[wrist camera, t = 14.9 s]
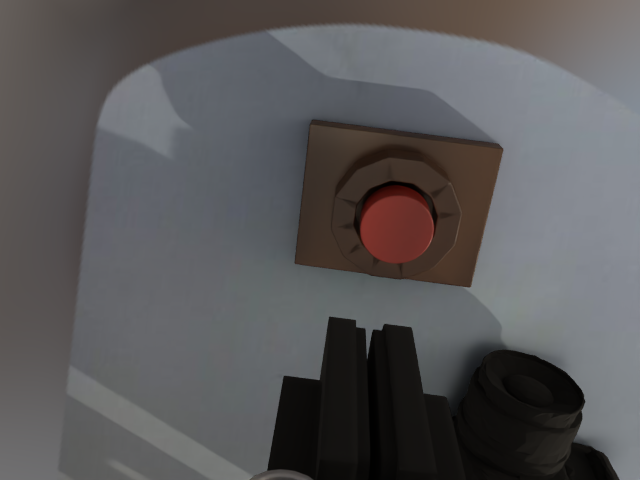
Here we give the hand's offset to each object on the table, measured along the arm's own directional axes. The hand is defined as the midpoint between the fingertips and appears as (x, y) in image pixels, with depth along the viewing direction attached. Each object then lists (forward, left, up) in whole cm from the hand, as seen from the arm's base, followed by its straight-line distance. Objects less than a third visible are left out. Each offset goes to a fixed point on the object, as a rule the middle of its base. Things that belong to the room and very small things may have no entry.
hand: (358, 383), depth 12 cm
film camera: (+16, -11, -22) cm, 29 cm away
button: (+3, -2, -19) cm, 19 cm away
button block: (+3, -2, -22) cm, 22 cm away
